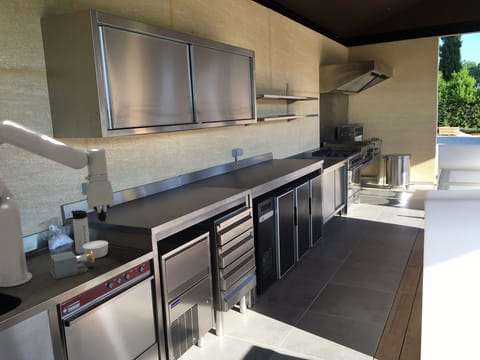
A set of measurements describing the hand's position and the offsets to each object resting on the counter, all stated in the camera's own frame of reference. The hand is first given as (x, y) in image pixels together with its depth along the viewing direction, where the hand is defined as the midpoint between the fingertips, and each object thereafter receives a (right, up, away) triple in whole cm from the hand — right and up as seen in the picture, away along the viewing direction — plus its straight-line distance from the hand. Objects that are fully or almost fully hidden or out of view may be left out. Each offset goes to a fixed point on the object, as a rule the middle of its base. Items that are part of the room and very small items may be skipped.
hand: (102, 221), depth 174 cm
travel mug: (-15, -17, +19) cm, 29 cm away
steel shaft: (-8, -18, -3) cm, 20 cm away
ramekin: (-8, -17, +14) cm, 24 cm away
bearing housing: (-12, -20, -5) cm, 24 cm away
